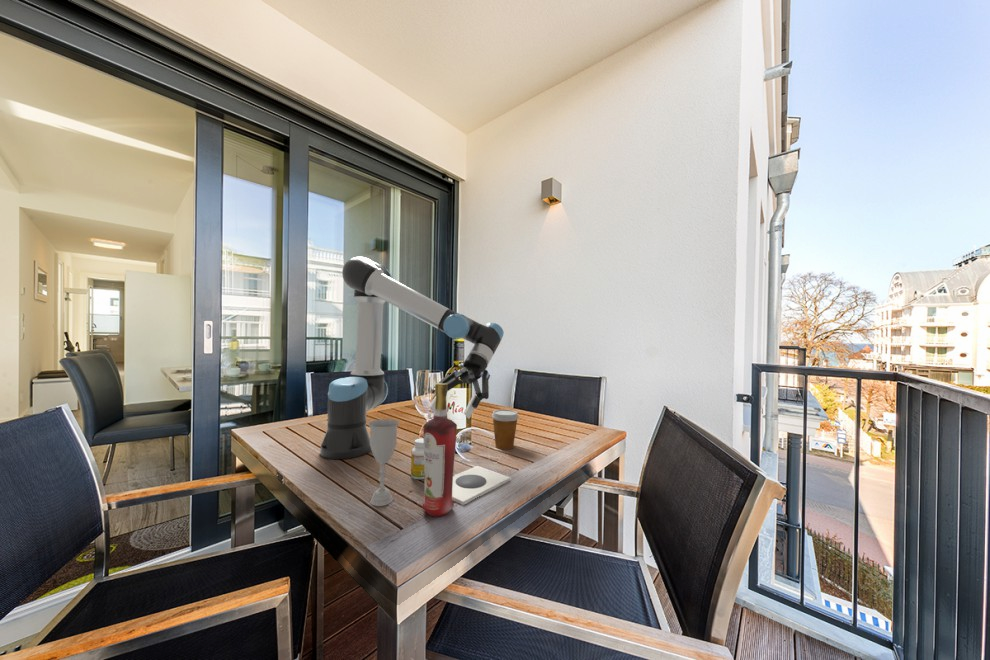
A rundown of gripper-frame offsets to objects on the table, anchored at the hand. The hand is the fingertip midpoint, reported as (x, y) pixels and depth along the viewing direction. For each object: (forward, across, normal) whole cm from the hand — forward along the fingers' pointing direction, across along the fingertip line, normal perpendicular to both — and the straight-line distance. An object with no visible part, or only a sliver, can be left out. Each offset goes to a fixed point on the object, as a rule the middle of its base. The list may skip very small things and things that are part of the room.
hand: (448, 412), depth 103 cm
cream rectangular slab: (+16, -14, -6) cm, 22 cm away
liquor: (+27, -16, +5) cm, 32 cm away
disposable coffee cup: (-6, -6, -28) cm, 29 cm away
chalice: (+29, -2, +8) cm, 30 cm away
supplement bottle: (+19, 0, -3) cm, 19 cm away
